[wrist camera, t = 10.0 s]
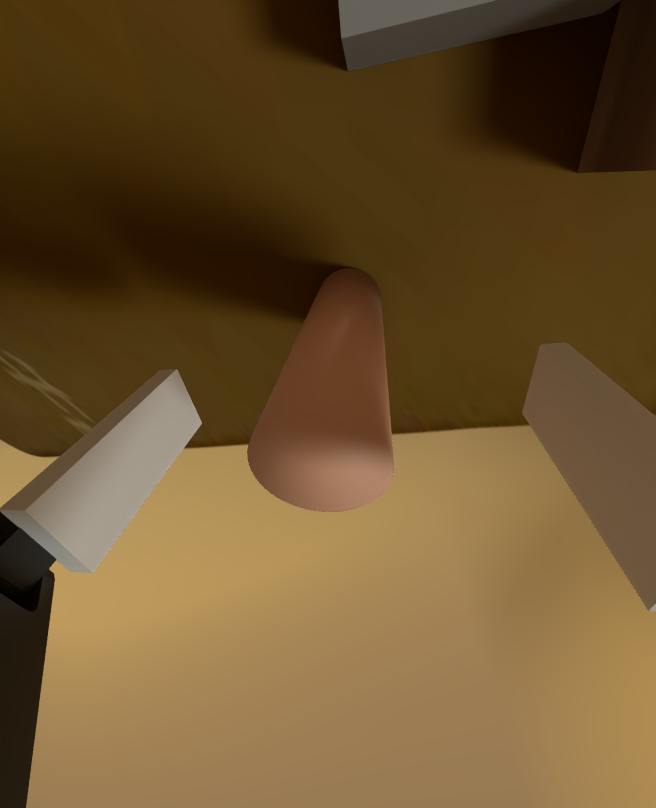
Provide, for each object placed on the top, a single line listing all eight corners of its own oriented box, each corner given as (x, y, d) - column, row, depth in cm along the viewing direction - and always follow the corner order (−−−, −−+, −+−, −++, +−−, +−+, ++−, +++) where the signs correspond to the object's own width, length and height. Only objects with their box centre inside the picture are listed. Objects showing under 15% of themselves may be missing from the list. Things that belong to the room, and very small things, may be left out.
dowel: (305, 302, 20) (220, 463, 9) (347, 252, 18) (309, 378, 7) (349, 342, 21) (326, 527, 10) (394, 300, 19) (426, 471, 8)
